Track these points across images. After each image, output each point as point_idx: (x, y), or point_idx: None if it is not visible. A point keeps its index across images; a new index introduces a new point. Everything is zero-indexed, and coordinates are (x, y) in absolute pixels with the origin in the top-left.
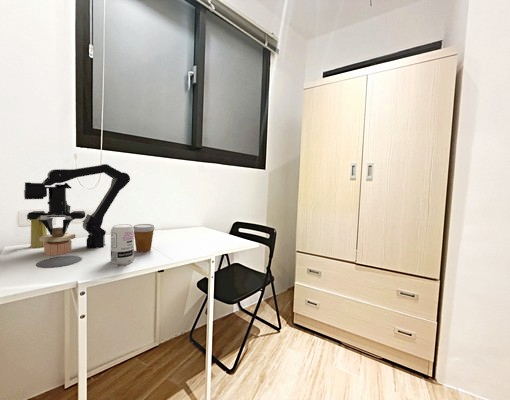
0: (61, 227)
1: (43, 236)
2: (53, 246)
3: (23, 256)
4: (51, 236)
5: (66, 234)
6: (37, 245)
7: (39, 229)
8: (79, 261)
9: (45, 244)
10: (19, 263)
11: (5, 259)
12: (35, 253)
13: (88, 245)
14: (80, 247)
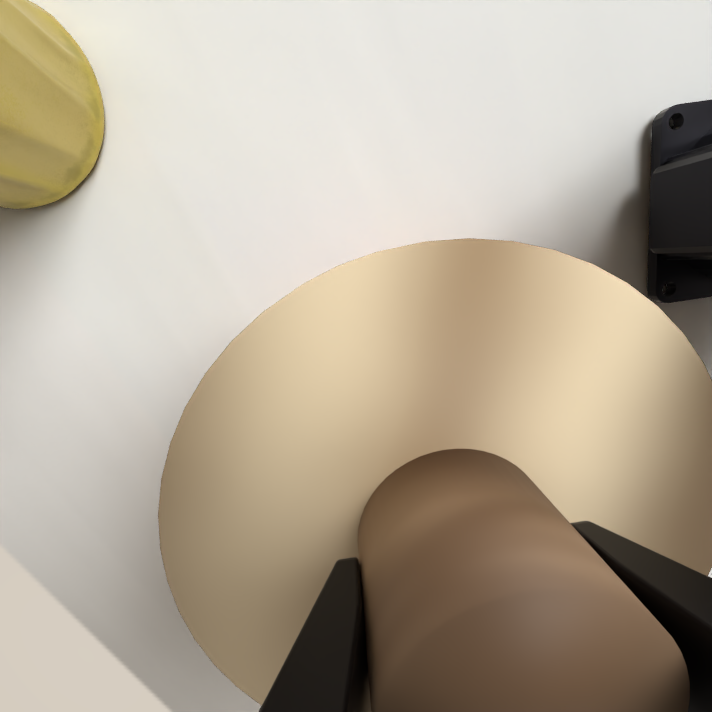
0: (585, 593)
1: (197, 554)
2: None
3: (136, 508)
4: (340, 548)
5: (545, 381)
6: (17, 190)
7: None
8: None
9: None
10: None
11: (48, 583)
12: (178, 416)
13: (691, 258)
14: (547, 184)
